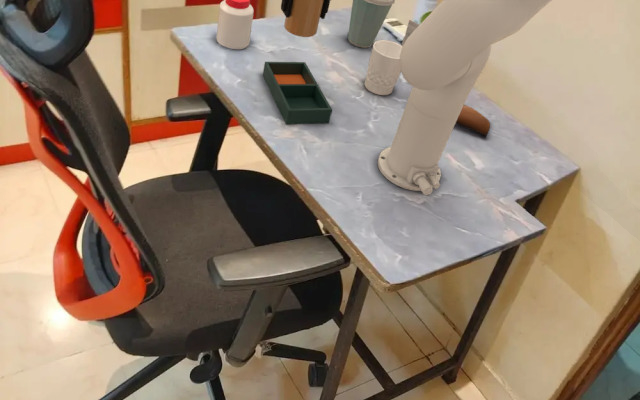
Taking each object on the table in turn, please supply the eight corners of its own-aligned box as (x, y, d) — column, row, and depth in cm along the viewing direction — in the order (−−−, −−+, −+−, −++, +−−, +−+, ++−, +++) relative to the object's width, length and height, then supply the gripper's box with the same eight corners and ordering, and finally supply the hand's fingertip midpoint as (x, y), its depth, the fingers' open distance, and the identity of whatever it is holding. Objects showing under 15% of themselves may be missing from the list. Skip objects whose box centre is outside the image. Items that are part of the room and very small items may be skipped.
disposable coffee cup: (337, 29, 155) (351, -27, 145) (375, 34, 158) (392, -21, 148) (344, 50, 148) (359, -8, 138) (385, 54, 150) (402, -2, 140)
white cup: (395, 83, 141) (407, 45, 134) (394, 100, 135) (407, 61, 128) (363, 75, 140) (374, 36, 134) (360, 92, 134) (372, 52, 128)
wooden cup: (320, 37, 120) (331, -10, 113) (289, 36, 117) (298, -12, 111) (310, 21, 124) (320, -25, 118) (280, 20, 122) (288, -28, 115)
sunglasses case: (490, 119, 136) (499, 105, 130) (481, 144, 134) (489, 132, 128) (416, 92, 138) (421, 77, 132) (406, 117, 136) (411, 103, 130)
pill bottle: (219, 29, 142) (224, -15, 135) (251, 36, 143) (257, -7, 135) (213, 44, 136) (217, -1, 129) (246, 52, 137) (252, 7, 130)
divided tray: (302, 75, 134) (305, 61, 132) (328, 123, 122) (332, 109, 120) (262, 75, 131) (264, 61, 129) (285, 124, 119) (288, 110, 117)
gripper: (282, -74, 101) (266, 22, 113) (372, -64, 108) (348, 25, 120) (270, -90, 106) (257, 4, 118) (357, -80, 113) (336, 8, 125)
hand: (303, 14), depth 119 cm, fingers closed on wooden cup, 6 cm apart
